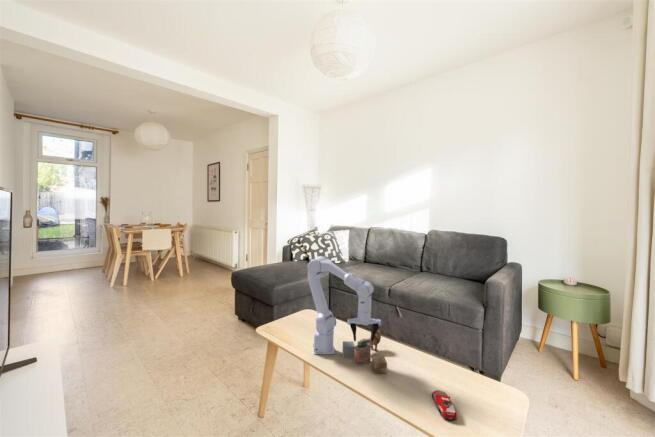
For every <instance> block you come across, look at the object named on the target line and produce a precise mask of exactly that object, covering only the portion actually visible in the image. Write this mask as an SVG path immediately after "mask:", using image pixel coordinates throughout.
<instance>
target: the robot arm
mask: <svg viewBox="0 0 655 437" xmlns="http://www.w3.org/2000/svg"><path fill="white" fill-rule="evenodd" d="M306 267H307V281H308V284H309V288H310V292H311V294H312V300H313V302H314V306H315V309H316V317H315V324H316V325H315V329H316V331H314V332H313V333H314V334H313V344H312V345H313V346H312V347H313V354H314V355H335V347H334V332H335V330H334V329H335V327H336V326H337V319H336V318H335V316H334V314H333V311H331V310H330V309H329V307H328V304H327V300H326V296H325V293H324V290H323V287H322V286H323V285H322V282H321V278H320V277H321V276H322V274H323V272H325V273H327V272H330V273H331V274H333V275H334V276H336V277H337V278H340V279H341V280H343V283H344V285H346V286H348V288H350V289H351V290H353V291H355V292H356V294H357V296H358V301H357V305H358V306H357V317H354V318H347V319H346V320H347V322H346V323H347V326H350V330H351V333H352V337H353V342H357V328H358V327H357V325H363V326H368V325H370V328H371V329H370V331H371V332H370V338H371V341H373V340H374V336H375V334H376V332H377V330H379V328H380V326H381V325H382V320H381V319H379V318H371V317H372V301H373V300H372V294H373V293H374V289H375V288H374V284H373V283H371V282H370V281H365V280H364V279H362V278H361V277H358V276H357V274H356V273H354V272H349V273H348V272H346V271H345V270H343V269H342V268H341V267H339V266H338V265H336V264H335V263H334V262H333V261H332V260H331V259H329V258H327V257H326V256H320V257H317V258H313V259H311V260H310V261H309V262H308V263H307V265H306Z"/></svg>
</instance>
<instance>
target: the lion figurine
mask: <svg viewBox="0 0 655 437" xmlns="http://www.w3.org/2000/svg"><path fill="white" fill-rule="evenodd" d="M381 338H382V333H381V331H380V330H379V329H378V330H377V332H376V334H375V336H374V340H373V341H371V337H369V338H368V339H369V340H370V342H369V343H370V344H371V350H374V351H375V352H378V351H379V350H378V345H379V344H380V342H381ZM365 339H366V338H362V339H361V340H365Z"/></svg>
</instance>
